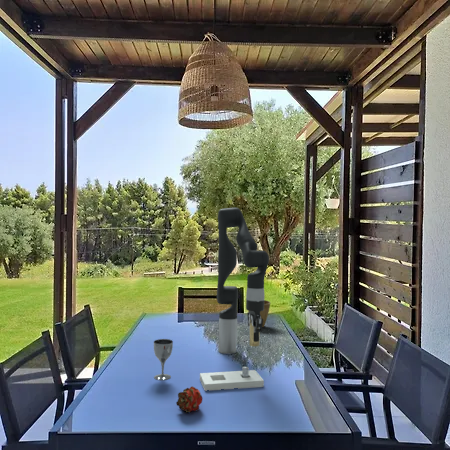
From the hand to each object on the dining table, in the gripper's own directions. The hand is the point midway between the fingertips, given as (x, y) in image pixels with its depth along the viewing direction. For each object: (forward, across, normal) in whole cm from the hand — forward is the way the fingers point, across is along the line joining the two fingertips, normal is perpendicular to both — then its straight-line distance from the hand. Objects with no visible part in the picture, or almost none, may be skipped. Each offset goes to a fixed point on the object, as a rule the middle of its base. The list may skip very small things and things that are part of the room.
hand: (254, 339), depth 171 cm
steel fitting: (+17, +1, -4) cm, 18 cm away
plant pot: (+18, -86, +32) cm, 94 cm away
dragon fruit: (+17, +21, -30) cm, 41 cm away
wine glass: (+17, -11, -36) cm, 42 cm away
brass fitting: (+2, 0, 0) cm, 2 cm away
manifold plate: (+17, 0, -10) cm, 20 cm away
